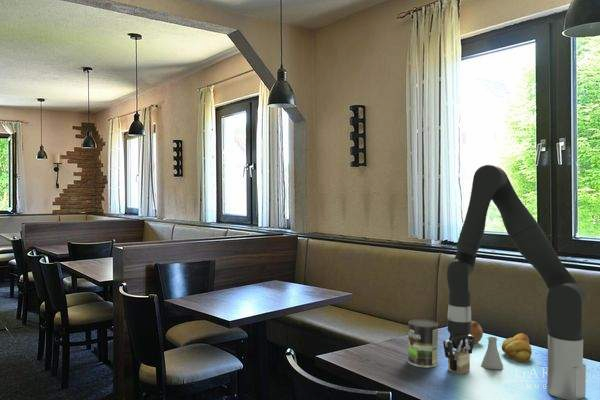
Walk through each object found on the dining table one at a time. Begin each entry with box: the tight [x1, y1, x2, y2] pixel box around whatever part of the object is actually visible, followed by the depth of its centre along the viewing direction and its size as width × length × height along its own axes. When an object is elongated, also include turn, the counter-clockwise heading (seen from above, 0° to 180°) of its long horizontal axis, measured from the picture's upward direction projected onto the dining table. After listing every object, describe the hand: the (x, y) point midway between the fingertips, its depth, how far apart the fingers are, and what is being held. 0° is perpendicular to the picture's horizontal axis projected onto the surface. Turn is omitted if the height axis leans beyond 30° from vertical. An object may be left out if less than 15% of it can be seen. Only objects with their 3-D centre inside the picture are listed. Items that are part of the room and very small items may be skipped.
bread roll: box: [501, 332, 533, 363], centre depth 178 cm, size 13×10×8 cm
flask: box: [481, 336, 504, 370], centre depth 169 cm, size 7×7×10 cm
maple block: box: [447, 351, 471, 375], centre depth 164 cm, size 5×5×6 cm
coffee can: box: [407, 318, 439, 369], centre depth 172 cm, size 10×10×14 cm
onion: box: [468, 320, 484, 345], centre depth 195 cm, size 10×9×10 cm
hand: (458, 368), depth 164 cm, fingers closed on maple block, 5 cm apart
